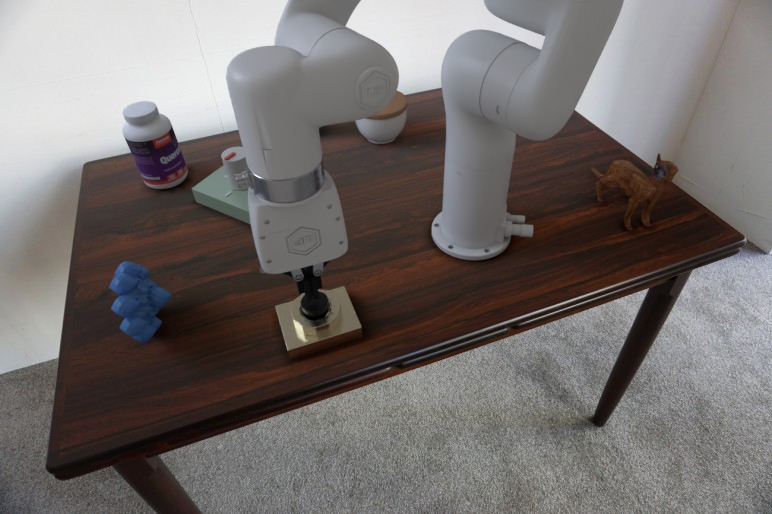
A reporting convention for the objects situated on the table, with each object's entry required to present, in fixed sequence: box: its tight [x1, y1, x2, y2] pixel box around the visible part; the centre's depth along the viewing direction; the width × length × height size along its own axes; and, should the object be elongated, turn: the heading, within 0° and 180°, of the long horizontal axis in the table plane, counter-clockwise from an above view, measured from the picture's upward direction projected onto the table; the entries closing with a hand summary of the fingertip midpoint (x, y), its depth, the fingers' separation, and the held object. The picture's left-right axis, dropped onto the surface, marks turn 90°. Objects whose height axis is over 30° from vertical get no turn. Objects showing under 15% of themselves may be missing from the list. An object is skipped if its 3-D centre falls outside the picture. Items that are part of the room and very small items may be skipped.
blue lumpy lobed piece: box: [108, 260, 172, 344], centre depth 68 cm, size 12×7×12 cm, turn 14°
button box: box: [274, 285, 364, 361], centre depth 70 cm, size 10×8×4 cm
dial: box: [220, 146, 249, 190], centre depth 89 cm, size 4×4×6 cm
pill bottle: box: [122, 100, 189, 190], centre depth 93 cm, size 8×8×14 cm
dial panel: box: [191, 164, 251, 225], centre depth 92 cm, size 14×11×3 cm
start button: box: [301, 291, 330, 320], centre depth 69 cm, size 4×4×2 cm
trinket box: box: [354, 90, 409, 145], centre depth 103 cm, size 11×11×9 cm
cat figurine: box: [590, 153, 679, 231], centre depth 83 cm, size 18×7×14 cm, turn 13°
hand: (310, 292), depth 67 cm, fingers closed
